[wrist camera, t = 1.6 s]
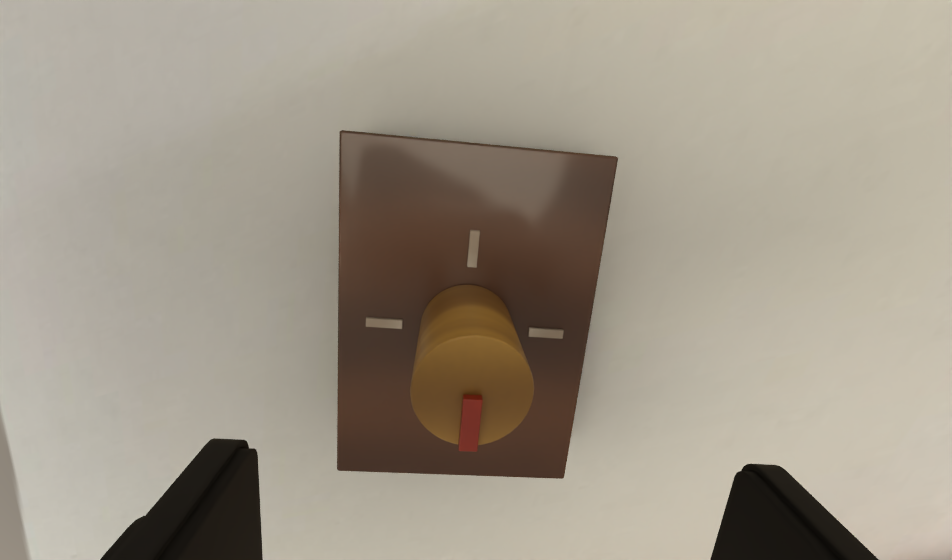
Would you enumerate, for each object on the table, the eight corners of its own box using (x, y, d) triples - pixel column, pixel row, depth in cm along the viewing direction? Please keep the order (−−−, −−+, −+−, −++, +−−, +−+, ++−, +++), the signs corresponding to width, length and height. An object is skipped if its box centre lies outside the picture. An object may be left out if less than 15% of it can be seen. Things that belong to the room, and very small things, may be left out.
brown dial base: (356, 133, 18) (338, 129, 15) (593, 155, 19) (620, 156, 16) (351, 429, 22) (335, 474, 19) (549, 438, 23) (564, 482, 20)
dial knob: (423, 281, 17) (412, 335, 12) (516, 287, 17) (543, 343, 12) (418, 366, 18) (406, 450, 13) (506, 371, 18) (528, 455, 13)
